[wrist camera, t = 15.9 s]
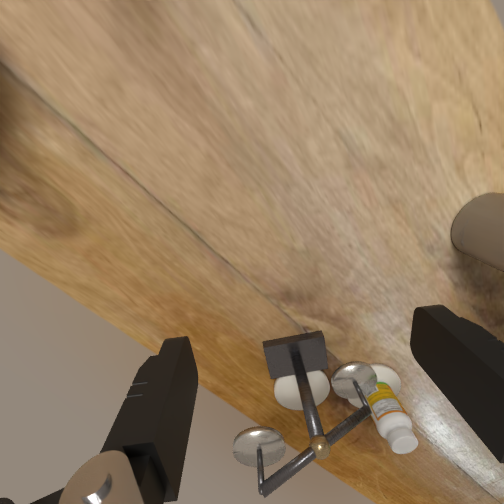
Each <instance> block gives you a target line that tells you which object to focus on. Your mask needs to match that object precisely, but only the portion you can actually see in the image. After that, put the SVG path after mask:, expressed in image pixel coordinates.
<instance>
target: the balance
mask: <svg viewBox="0 0 504 504" xmlns="http://www.w3.org/2000/svg"><path fill="white" fill-rule="evenodd" d="M263 347H264V352H265V356H266V360H267V364H268V369H269V373H270V377H271V379H274V378H280V377H285V376H290V375H295V377H296V381H297V386H298V390H299V394H300V398H301V402H302V407H303V411H304V415H305V419H306V424H307V428H308V432H309V436H310V444H309V446H310V447H308V448H307V449H306V450H304V451H303V452H302V453H300V454H299V455H298V456H297V457H295V458H294V459H293V460H291V461H290V462H289V463H287V464H286V465H285V466H283V467H282V468H281V469H279V470H278V471H277V472H275V473H274V474H273V475H271V476H270V477H269V478H268V479H266V480H265V481H264V469H263V467H265V466H269V465H272V464H274V463H276V462H278V461H279V460H280V459H281V458H282V457H283V456H284V453H285V441H284V437H283V436H282V434H281V433H280V432H279V431H277V430H275V429H273V428H270V427H264V426H257V427H252V428H248V429H246V430H244V431H242V432H240V433H239V434H238V435H237V436H236V438H235V439H234V443H233V454H234V457H235V458H236V460H237V461H239V462H240V463H242V464H244V465H246V466H250V467H257V469H258V487H259V488H258V489H259V493H260V494H261V495H263V496H264V498H265V497H267V496H268V495H269V494H271V493H272V492H273V491H274V490H276V489H277V488H278V487H279V486H281V485H282V484H283V483H284V482H286V481H287V480H288V479H290V478H291V477H292V476H293V475H295V474H296V473H297V472H299V471H300V470H301V469H302V468H304V467H305V466H306V465H307V464H309V463H310V462H311V461H312V460H314V459H315V458H317V459H321V460H322V459H325V458H327V457H328V456H329V454H330V446H332V445H333V444H334V443H335V442H337V441H338V440H339V439H340V438H342V437H343V436H344V435H346V434H347V433H348V432H349V431H351V430H352V429H353V428H354V427H356V426H357V425H358V424H359V423H361V422H362V421H363V420H365V419H366V418H367V417H368V416H370V415H371V414H372V411H371V409H370V406H369V404H368V402H367V400H366V398H365V395H367V394H369V393H370V392H371V391H372V390H373V389H374V388H375V386H376V384H377V375H376V373H375V371H374V370H373V368H372V367H371V366H370V365H369V364H367V363H364V362H359V361H355V362H349V363H346V364H344V365H342V366H340V367H339V368H338V369H337V370H336V371H335V372H334V373H333V375H332V379H331V383H332V386H333V389H334V391H335V393H336V394H337V395H339V396H340V397H342V398H346V399H356V398H360V400H361V402H362V404H363V406H362V407H361V408H360V409H358V410H357V411H356V412H354V413H353V414H352V415H350V416H349V417H348V418H347V419H345V420H344V421H343V422H341V423H340V424H339V425H337V426H336V427H335V428H333V429H332V430H331V431H329V432H328V433H327V434H325V435H324V432H323V429H322V425H321V422H320V418H319V415H318V411H317V408H316V404H315V401H314V398H313V394H312V391H311V387H310V384H309V380H308V377H307V372H312V371H318V370H323V369H328V364H327V356H326V348H325V340H324V335H323V333H322V331H316V332H311V333H306V334H300V335H295V336H290V337H285V338H279V339H274V340H269V341H264V342H263Z"/></svg>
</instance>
